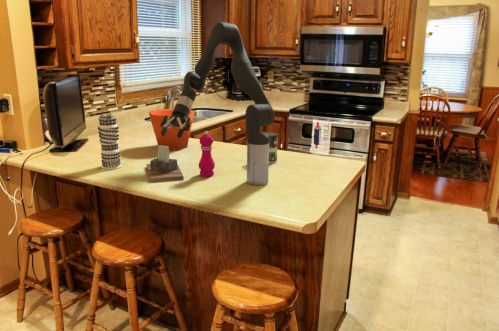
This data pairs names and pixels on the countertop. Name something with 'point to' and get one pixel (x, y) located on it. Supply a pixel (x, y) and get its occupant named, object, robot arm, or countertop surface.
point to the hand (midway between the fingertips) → (170, 136)
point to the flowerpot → (169, 130)
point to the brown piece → (164, 171)
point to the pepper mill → (206, 156)
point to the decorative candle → (109, 141)
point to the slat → (163, 153)
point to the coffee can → (272, 146)
